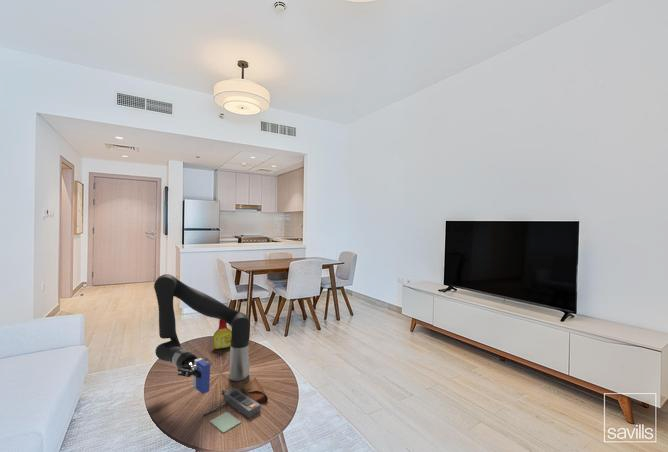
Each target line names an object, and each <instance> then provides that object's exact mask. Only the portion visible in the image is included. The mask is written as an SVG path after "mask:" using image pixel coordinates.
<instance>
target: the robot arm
mask: <svg viewBox="0 0 668 452" xmlns="http://www.w3.org/2000/svg"><path fill="white" fill-rule="evenodd" d="M153 289H154V291H155V296H156V300H157V307H158V332H159V337H160V338H161V339H166V340H167V339H170V340H169V341H166V342H163V343H160V344H159V345H157V346H156V348H155V355H156V358H158V359H159V360H160V361H164V362H169V363H172V364H173V365H174V366H175V367H176V368H177V376H180V377H184V378H185V377H186V378H190V377H191V376H193V377H194V376H196V377H197V378H201V372H199V371H198V370H196V369H195V368H194V360H195V359H198V357H197V356H196V355H195V354H193V352H191V351H189V350H187V349H184V348H183V347H182V345H181V343H180V341H179V340H180V339H179V337H178V335H177V328H176V316H175V308H174V297H175V298H176V299H179V300H180V301H182V302H183V303H184V304H185V305H186V306H187V307H189V308H190V309H191V310H193V311H195V312H197V313H199V314H201V315H203V316H204V317H209V318H213V319H217V320H218V319H219V321H220V320H223V321H224V322H226V323H227V324H228V325H229V326H230V327H231V331H232V335H231V345H230V346H229V347H230V349H229V351H230V353H229V354H230V355H229V356H230V357H229V374H228V375H229V380H231V381H232V382H234V381H235V382H240V381H243V380H245V379H247V378H248V376H249V375H250V360H251V359H250V358H251V357H249V346H250V345H249V342H250V335H251V322H250V319H249V317H248V316H247V314H245V313H243V312H241V311H238V310H236V309H233V308H232V307H229V306H227V305H225V304H224V303H222V302H221V301H219V300H217V299H216V298H214V297H213V296H210V295H209V294H206V293H204V292H203V291H200V290H198V289H196V288H194V287H192V286H189V285H187V284H186V283H184V282H182V281H181V280H179V279H178V278H177V277H175V276H174V275H172V274H162V275H159V277H157V279H155V281H154V284H153ZM204 360H205V361H206V362H209V358H207V357H206V358H204Z"/></svg>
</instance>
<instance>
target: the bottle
mask: <svg viewBox="0 0 668 452" xmlns="http://www.w3.org/2000/svg"><path fill="white" fill-rule="evenodd" d="M227 324H228V323H226V322H224V321H223V320H220V319H219V322H218V325H219V326H218V329H217V330H216V331H215V332H214V333H213V337H212V344H213V348H214V349H215V350H216V349H217V350H218V349H224V348H225V349H226V348H229V347H230V346H231V335H232V329H230V328H229V327H228V325H227Z"/></svg>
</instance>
